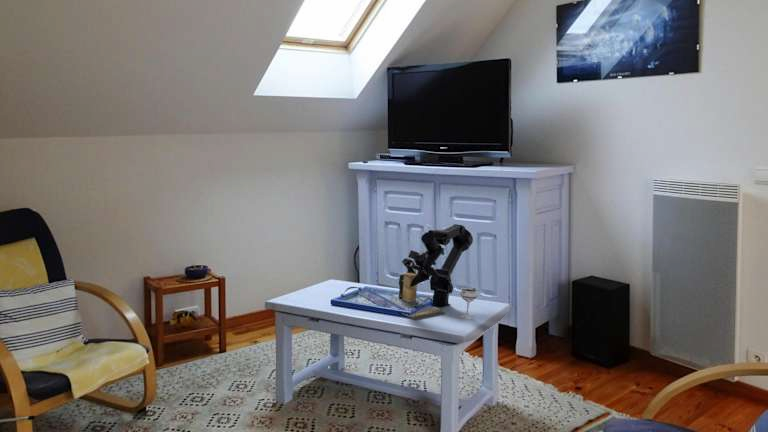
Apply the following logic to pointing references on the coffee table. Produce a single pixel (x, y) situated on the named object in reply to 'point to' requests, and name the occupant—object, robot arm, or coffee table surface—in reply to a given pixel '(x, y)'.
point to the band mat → (425, 313)
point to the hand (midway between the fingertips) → (407, 284)
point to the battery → (401, 285)
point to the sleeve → (409, 287)
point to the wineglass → (468, 298)
